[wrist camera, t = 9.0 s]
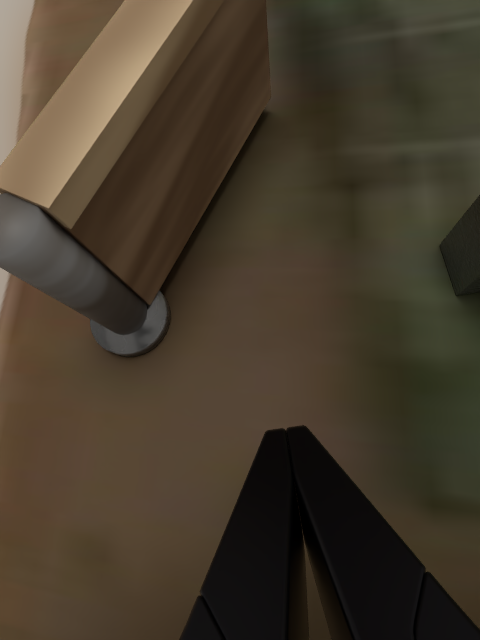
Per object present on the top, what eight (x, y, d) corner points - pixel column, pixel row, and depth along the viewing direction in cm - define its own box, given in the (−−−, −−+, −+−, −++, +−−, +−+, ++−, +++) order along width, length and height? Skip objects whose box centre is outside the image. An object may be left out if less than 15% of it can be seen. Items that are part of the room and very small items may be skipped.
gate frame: (716, 270, 18) (921, 192, 12) (97, 362, 20) (22, 334, 15) (671, 194, 19) (836, 92, 13) (97, 290, 22) (29, 239, 16)
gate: (275, 98, 23) (266, -106, 14) (134, 342, 19) (6, 268, 11) (239, 88, 24) (210, -113, 15) (96, 323, 20) (-55, 238, 11)
